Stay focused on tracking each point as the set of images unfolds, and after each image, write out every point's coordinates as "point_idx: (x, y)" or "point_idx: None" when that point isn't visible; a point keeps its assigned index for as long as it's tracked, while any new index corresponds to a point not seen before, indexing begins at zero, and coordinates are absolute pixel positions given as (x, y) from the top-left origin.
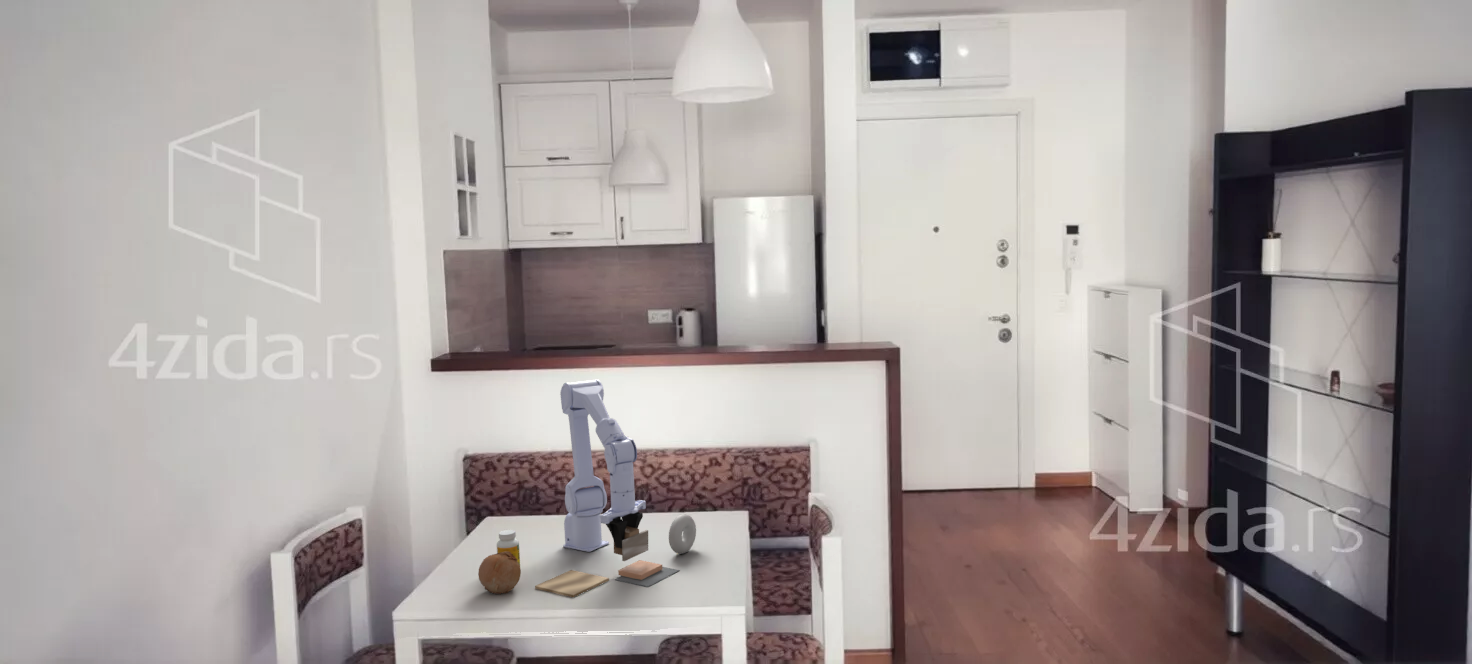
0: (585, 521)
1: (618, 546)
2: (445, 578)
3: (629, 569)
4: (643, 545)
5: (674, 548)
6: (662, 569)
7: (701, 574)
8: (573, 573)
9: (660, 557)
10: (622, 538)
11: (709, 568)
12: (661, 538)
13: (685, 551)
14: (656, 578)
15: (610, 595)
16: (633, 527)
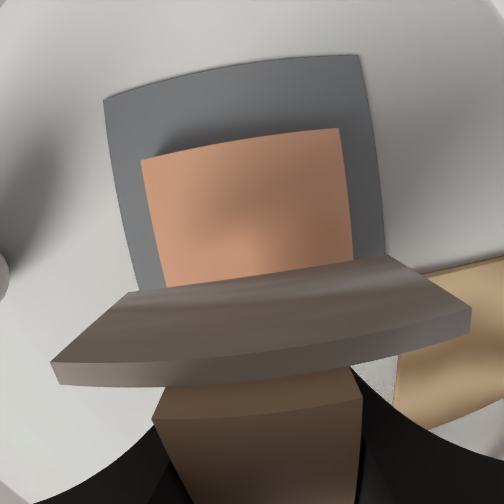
0: None
1: None
2: None
3: (314, 253)
4: (161, 304)
5: (1, 264)
6: None
7: (92, 7)
8: (416, 414)
9: (60, 309)
10: (383, 402)
11: (31, 46)
12: (7, 410)
13: None
14: (257, 90)
15: (495, 142)
16: (175, 480)
